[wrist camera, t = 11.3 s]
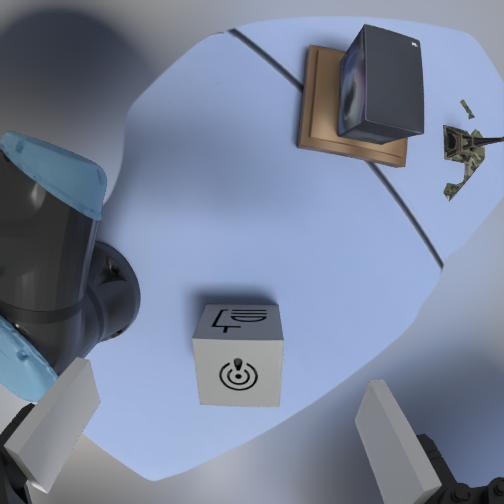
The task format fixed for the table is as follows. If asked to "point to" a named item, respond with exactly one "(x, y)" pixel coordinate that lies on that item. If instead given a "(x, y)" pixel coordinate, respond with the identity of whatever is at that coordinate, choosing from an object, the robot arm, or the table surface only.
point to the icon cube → (239, 355)
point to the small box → (381, 87)
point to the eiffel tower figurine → (464, 151)
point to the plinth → (335, 114)
